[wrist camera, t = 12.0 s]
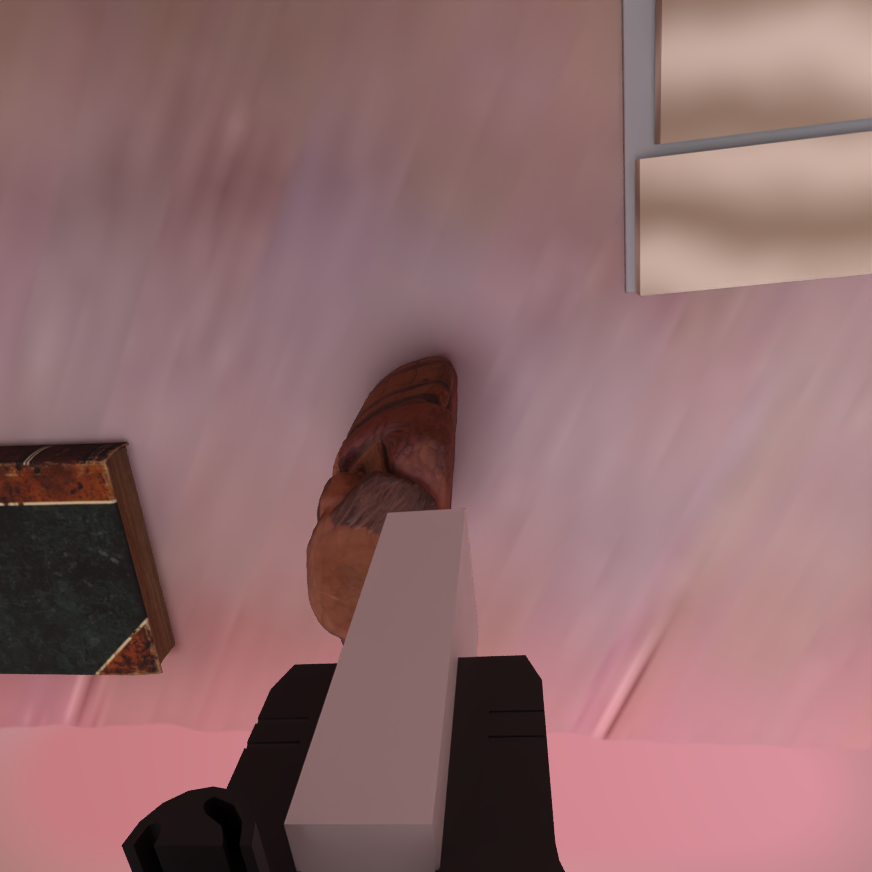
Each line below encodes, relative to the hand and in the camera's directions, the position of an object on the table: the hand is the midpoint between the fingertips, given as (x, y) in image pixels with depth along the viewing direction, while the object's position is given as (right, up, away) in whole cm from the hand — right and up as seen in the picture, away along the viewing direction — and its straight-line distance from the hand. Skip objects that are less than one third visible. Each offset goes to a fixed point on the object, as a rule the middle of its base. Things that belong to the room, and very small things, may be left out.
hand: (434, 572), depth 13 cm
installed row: (+26, +15, +22) cm, 37 cm away
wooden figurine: (-2, +3, +30) cm, 30 cm away
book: (-33, -6, +37) cm, 49 cm away
